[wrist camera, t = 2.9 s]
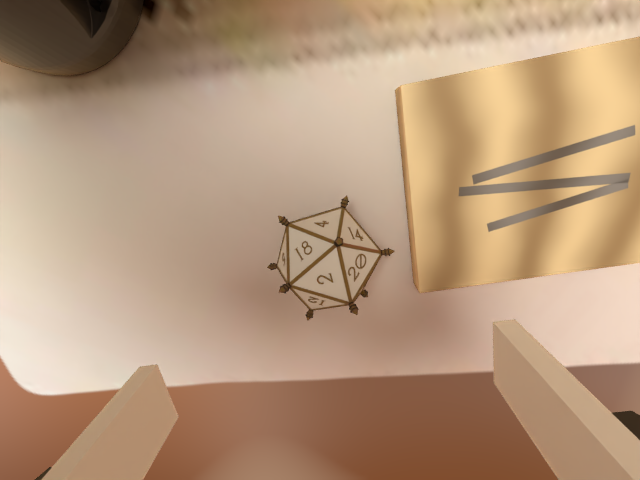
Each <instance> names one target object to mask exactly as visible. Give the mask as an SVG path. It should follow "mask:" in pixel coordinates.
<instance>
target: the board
mask: <svg viewBox="0 0 640 480" xmlns="http://www.w3.org/2000/svg"><path fill="white" fill-rule="evenodd" d="M395 94H396V104H397V114H398V125H399V135H400V146H401V156H402V167H403V177H404V187H405V198H406V208H407V219H408V229H409V239H410V250H411V260H412V271H413V281H414V284H415V286H416V288H417V289H418V291H419V293H424V292H432V291H439V290H446V289H453V288H461V287H468V286H475V285H482V284H490V283H497V282H504V281H511V280H519V279H526V278H533V277H540V276H547V275H555V274H562V273H569V272H576V271H584V270H591V269H598V268H605V267H613V266H620V265H627V264H634V263H640V37H636V38H631V39H626V40H621V41H616V42H611V43H606V44H601V45H596V46H591V47H587V48H582V49H577V50H572V51H567V52H562V53H557V54H552V55H547V56H542V57H538V58H533V59H528V60H523V61H518V62H513V63H508V64H503V65H498V66H493V67H489V68H484V69H479V70H474V71H469V72H464V73H459V74H454V75H449V76H445V77H440V78H435V79H430V80H425V81H420V82H415V83H410V84H405V85H401V86H400V87H398V88H397V89H396V90H395Z"/></svg>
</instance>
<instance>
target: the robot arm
mask: <svg viewBox="0 0 640 480" xmlns="http://www.w3.org/2000/svg"><path fill="white" fill-rule="evenodd" d="M143 3H144V0H0V61H2V62H5V63H7V64H10V65H13V66H17V67H21V68H25V69H29V70H33V71H37V72H42V73H46V74H51V75H61V76H69V75H78V74H83V73H87V72H90V71H92V70H95V69H97V68H99V67H101V66H103V65H104V64H106V63H108V62H109V61H110V60H111V59H113V58H114V57H115V56H116V55H117V54H118V53H119V52H120V51H121V50H122V49H123V47H124V46H125V45H126V43H127V42H128V41H129V39H130V37H131V36H132V34H133V32H134V30H135V28H136V25H137V23H138V21H139V18H140V14H141V11H142V7H143ZM493 358H494V384H495V385H496V387H497V388H498V390H499V391H500V393H501V394H502V396H503V397H504V399H505V400H506V402H507V403H508V405H509V406H510V408H511V409H512V411H513V412H514V414H515V415H516V417H517V418H518V420H519V421H520V423H521V424H522V426H523V427H524V429H525V430H526V432H527V433H528V435H529V436H530V438H531V439H532V441H533V442H534V444H535V445H536V447H537V448H538V450H539V451H540V453H541V454H542V456H543V457H544V459H545V460H546V462H547V463H548V465H549V466H550V468H551V469H552V471H553V472H554V474H555V475H556V477H557V478H558V479H559V480H640V415H638V414H636V413H635V412H633V411H625V412H615V413H611V412H610V411H609V410H608V409H607V408H606V407H605V406H604V405H603V404H602V403H601V402H599V400H598V399H596V397H595V396H593V395H592V394H591V393H590V392H589V391H588V390H587V389H586V388H585V387H584V386H583V385H582V384H581V383H580V382H579V381H578V380H577V379H576V378H575V377H574V376H573V375H572V374H571V373H570V372H569V371H567V369H566V368H565V367H564V366H563V365H562V364H560V363H559V362H558V361H557V360H556V359H555V358H554V357H553V356H552V355H551V354H550V353H549V352H548V351H547V350H546V349H545V348H544V347H543V346H542V345H541V344H540V343H539V342H538V341H537V340H536V339H535V338H534V337H533V336H532V335H531V334H530V333H529V332H527V331H526V330H525V329H524V328H523V327H522V326H521V325H520V324H519V323H518V322H517V321H516V320H515V319H514V320H506V321H499V322H493ZM177 419H178V414H177V412H176V409H175V407H174V404H173V402H172V400H171V397H170V395H169V392H168V390H167V387H166V385H165V382H164V380H163V377H162V375H161V373H160V370H159V368H158V365H150V366H142V367H139V368H138V369H137V371H136V372H135V373H134V374H133V375H132V376H131V377H130V379H129V380H128V381H127V382H126V383H125V384H124V385H123V387H122V388H121V389H120V390H119V391H118V392H117V394H116V395H115V396H114V397H113V398H112V399H111V400H110V402H109V403H108V404H107V405H106V406H105V408H103V410H102V411H101V412H100V413H99V414H98V415H97V416H96V418H95V419H94V420H93V421H92V422H91V423H90V424H89V426H88V427H87V428H86V429H85V430H84V431H83V432H82V434H81V435H80V436H79V437H78V438H77V439H76V440H75V442H74V443H73V444H72V445H71V446H70V447H69V448H68V450H67V451H66V452H65V453H64V454H63V455H62V457H61V458H60V459H59V460H58V461H57V462H56V463H55V465H54V466H53V467H49V468H48V469H47V470H46V471H45V472H44V473H42V474H41V475H40V476H39V477H37V478H36V479H35V480H143V479H144V476H145V475H146V473H147V471H148V470H149V468H150V466H151V465H152V463H153V461H154V459H155V457H156V455H157V454H158V452H159V450H160V449H161V447H162V445H163V443H164V442H165V440H166V438H167V436H168V435H169V433H170V431H171V429H172V428H173V426H174V424H175V422H176V421H177Z"/></svg>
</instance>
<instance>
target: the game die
mask: <svg viewBox="0 0 640 480" xmlns="http://www.w3.org/2000/svg"><path fill="white" fill-rule="evenodd" d="M348 202H349V201H348V197H347V196H346V197H344V198H343V199H342V202H341V207H338V208H335V209H332V210H329V211H325V212H322V213H319V214H315V215H312V216H309V217H306V218H302V219H299V220H296V221H292V222H288V221H287V219H286V218H285V217H282V216H278V217H279V221H280V222H279V223H282V225H285V226H286V229H285V233H284V237H283V241H282V245H281V249H280V253H279V258H278V262H277V264H275V263H273V264H272V263H271V264H270V265H269V266H268V267H267V268H269V269H271V270H274V269H276V268H278V270H279V272H280V274H281V275H282V277H283V279H284V280H285V282H286V284H284V285H283V286H280V290H279V292H281V293H286V292H288V290H289V288H290V289H291V290H292V291H293V293H294V294H295V295H296V296H297V297H298V298H299V299H300V300H301V301H302V302H303V303H304V304H305V305H306V306H307V308H308V309H309V311H308V312H307V314H306V317H307V320H309V319H310V318H313V310H320V309H326V308H333V307H340V306H346V305H349V307H350V308H349V310H351V313H354V314H356V315H357V314H358V310H359V309H358V308H357V306H356V304H354V301H355V300H356V299H357V297H358V296H359V295H360V294H361V295H362V296H363V297H368V291H366V290H363V289H364V287H365V285H366V283H367V281H368V280H369V278H370V276H371V274H372V272H373V270H374V269H375V267H376V265H377V263H378V261H379V259H380V258H381V256H382V255H385V256H386V255H389V256H390V254H392V253H393V252H394V250H391V249H389V248H388V249H384V250H380V248H379V247H378V246H377V245H376V244H375V243H374V241H373V240H372V239H371V238H370V237H369V235H368V234H367V233H366V232H365V231H364V230H363V228H362V227H361V226H360V225H359V224H358V223H357V221H356V220H355V219H354V218H353V217H352V215H351V214H350V213H349V212H348V211H347V210H346V206H347V205H348Z"/></svg>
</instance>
